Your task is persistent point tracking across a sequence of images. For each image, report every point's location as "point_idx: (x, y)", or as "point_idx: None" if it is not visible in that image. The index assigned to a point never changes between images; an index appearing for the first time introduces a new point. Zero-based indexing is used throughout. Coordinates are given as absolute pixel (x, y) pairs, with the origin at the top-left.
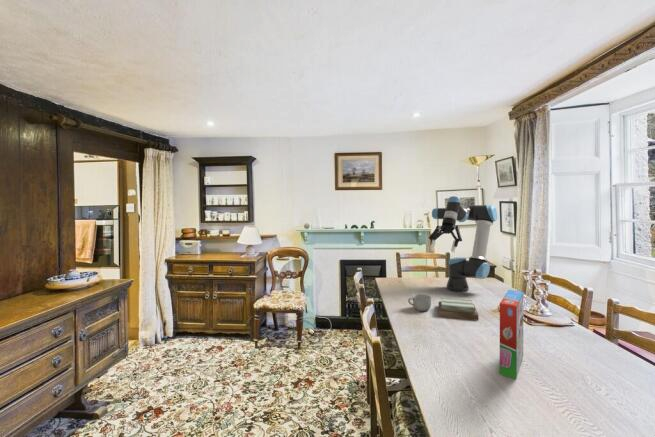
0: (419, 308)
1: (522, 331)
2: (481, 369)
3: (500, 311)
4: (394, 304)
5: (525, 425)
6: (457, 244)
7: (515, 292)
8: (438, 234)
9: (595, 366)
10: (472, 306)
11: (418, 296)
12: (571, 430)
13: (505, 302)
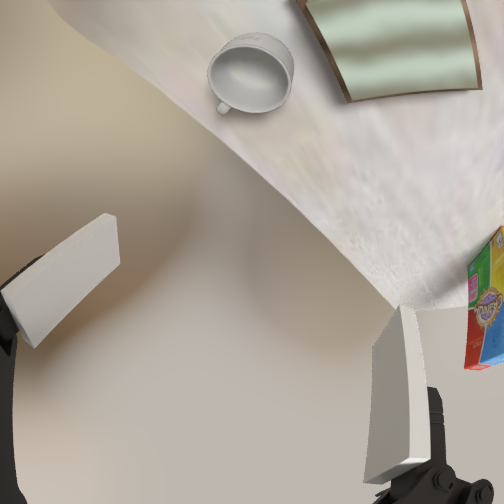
0: (267, 90)
1: None
2: (448, 264)
3: (466, 356)
4: (167, 76)
5: (462, 304)
6: (439, 426)
7: None
8: (9, 445)
9: None
10: (469, 71)
11: (218, 57)
12: None
13: (472, 367)
